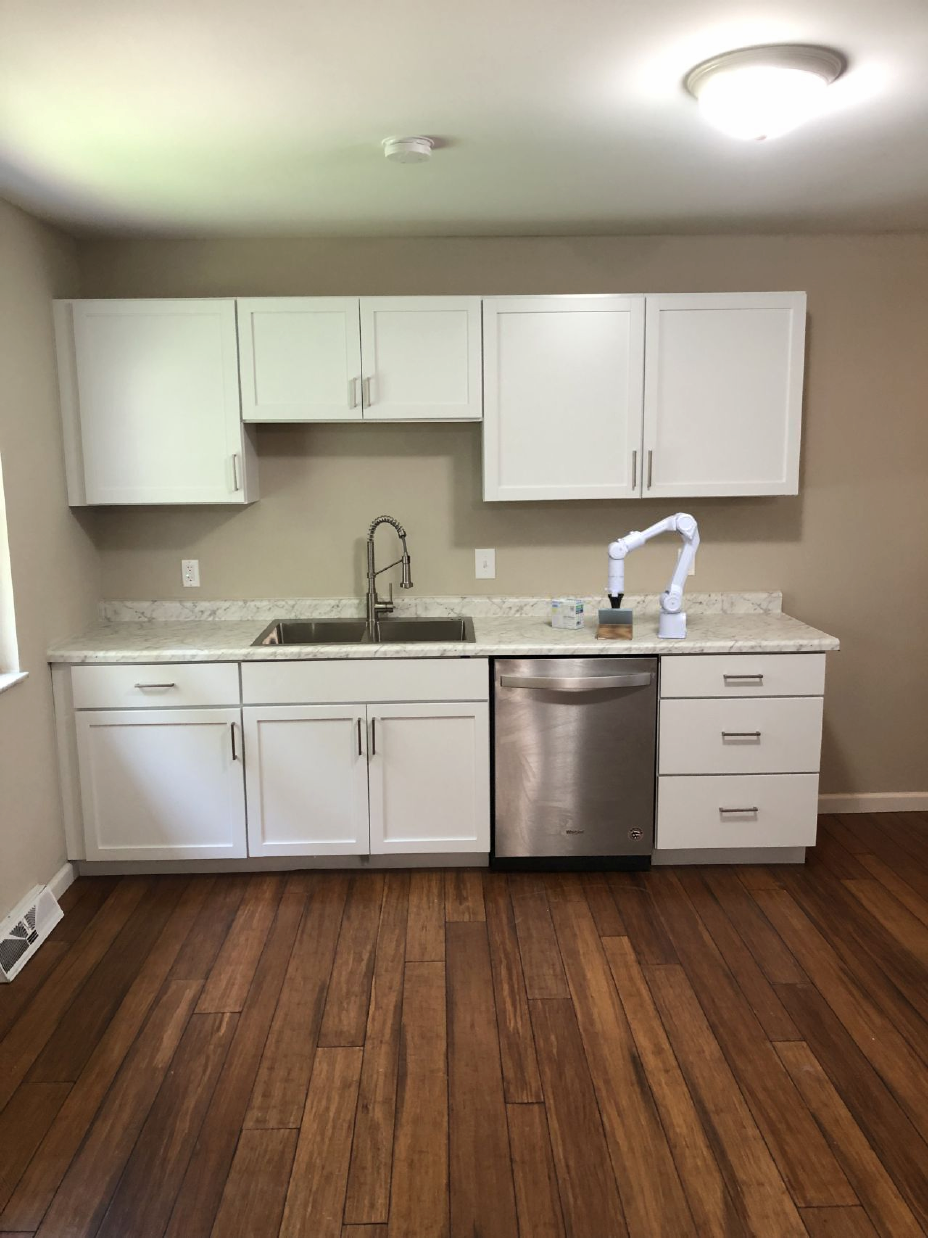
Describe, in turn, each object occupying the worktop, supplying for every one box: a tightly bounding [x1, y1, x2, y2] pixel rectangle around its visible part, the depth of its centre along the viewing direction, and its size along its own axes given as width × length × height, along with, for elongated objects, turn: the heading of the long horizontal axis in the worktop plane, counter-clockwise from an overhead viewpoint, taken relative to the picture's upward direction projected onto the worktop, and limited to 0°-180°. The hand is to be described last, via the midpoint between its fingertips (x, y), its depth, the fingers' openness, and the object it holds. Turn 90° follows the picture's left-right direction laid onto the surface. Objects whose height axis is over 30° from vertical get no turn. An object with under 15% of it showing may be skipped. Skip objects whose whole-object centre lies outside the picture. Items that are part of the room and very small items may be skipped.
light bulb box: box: [551, 597, 585, 630], centre depth 356 cm, size 11×7×11 cm, turn 56°
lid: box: [597, 606, 634, 625], centre depth 335 cm, size 12×8×1 cm
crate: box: [596, 623, 634, 641], centre depth 334 cm, size 12×8×4 cm, turn 78°
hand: (615, 613), depth 334 cm, fingers closed, pressing on lid
